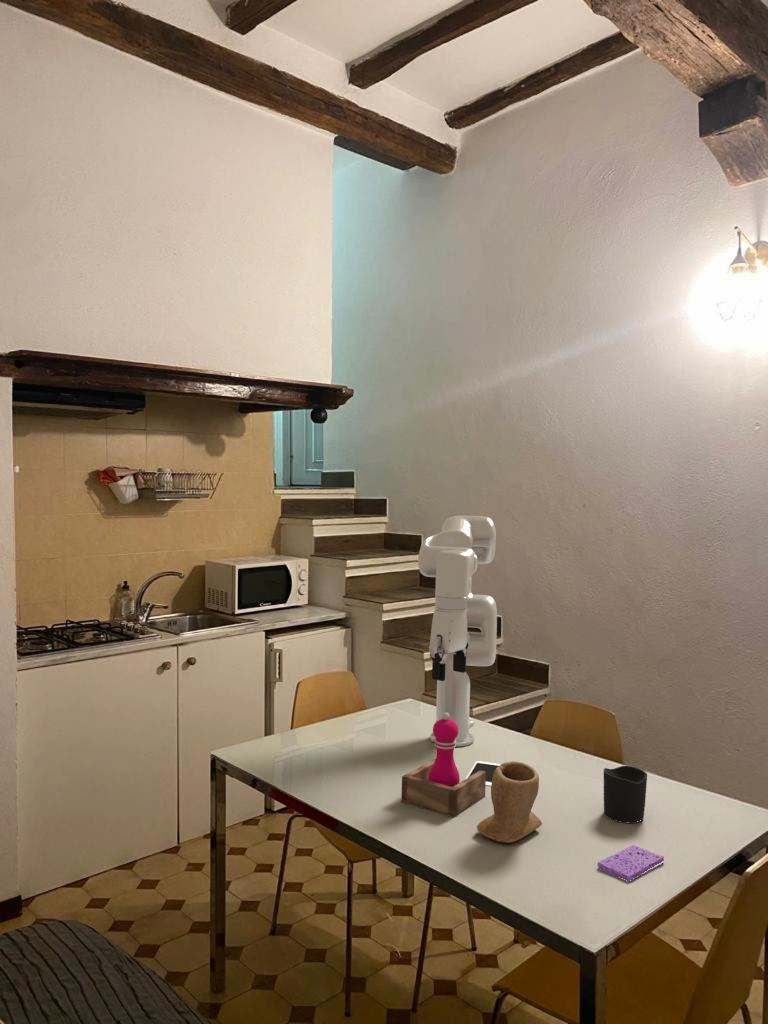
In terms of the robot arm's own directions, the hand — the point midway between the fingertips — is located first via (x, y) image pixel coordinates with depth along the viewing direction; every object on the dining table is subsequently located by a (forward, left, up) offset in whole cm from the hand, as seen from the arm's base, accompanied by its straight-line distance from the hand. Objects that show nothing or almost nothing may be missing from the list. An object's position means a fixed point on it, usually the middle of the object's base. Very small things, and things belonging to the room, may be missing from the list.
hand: (449, 675), depth 186 cm
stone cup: (+8, +21, -29) cm, 37 cm away
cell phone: (-20, 0, -30) cm, 36 cm away
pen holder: (-16, +37, -29) cm, 50 cm away
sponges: (+7, +46, -30) cm, 55 cm away
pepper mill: (+1, 0, -29) cm, 29 cm away
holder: (0, 0, -29) cm, 29 cm away
